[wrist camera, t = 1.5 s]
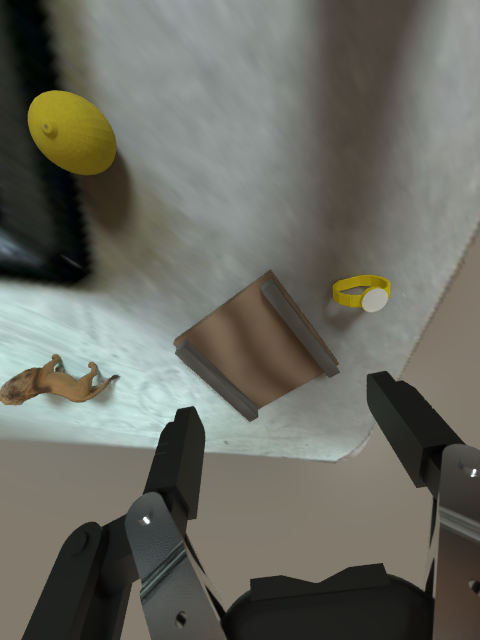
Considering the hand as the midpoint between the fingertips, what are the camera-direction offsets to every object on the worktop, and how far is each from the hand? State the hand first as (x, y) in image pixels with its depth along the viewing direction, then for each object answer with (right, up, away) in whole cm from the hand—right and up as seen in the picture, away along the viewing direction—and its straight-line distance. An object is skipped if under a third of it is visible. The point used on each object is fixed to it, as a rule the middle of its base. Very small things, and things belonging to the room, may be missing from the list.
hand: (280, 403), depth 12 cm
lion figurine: (-26, -3, +25) cm, 36 cm away
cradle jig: (+1, 0, +24) cm, 24 cm away
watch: (+12, +9, +20) cm, 25 cm away
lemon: (-15, +21, +13) cm, 29 cm away
